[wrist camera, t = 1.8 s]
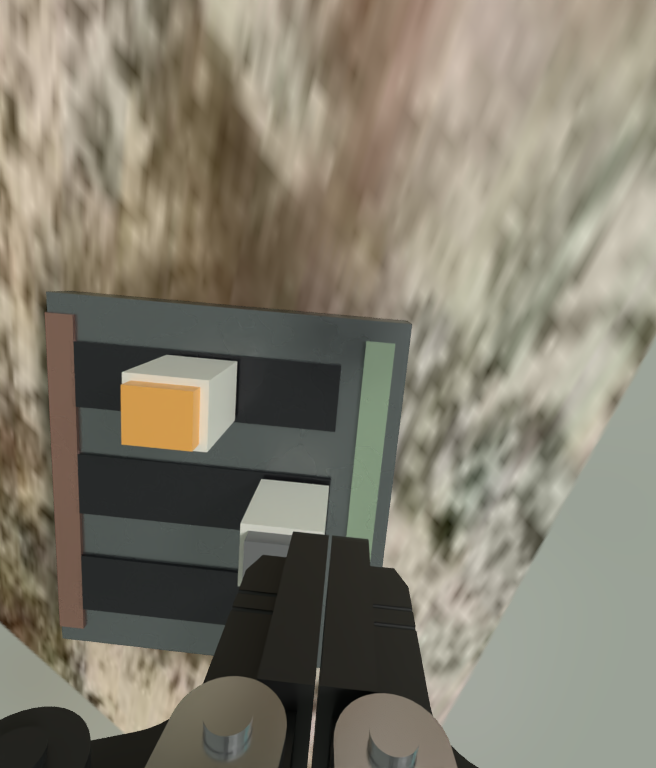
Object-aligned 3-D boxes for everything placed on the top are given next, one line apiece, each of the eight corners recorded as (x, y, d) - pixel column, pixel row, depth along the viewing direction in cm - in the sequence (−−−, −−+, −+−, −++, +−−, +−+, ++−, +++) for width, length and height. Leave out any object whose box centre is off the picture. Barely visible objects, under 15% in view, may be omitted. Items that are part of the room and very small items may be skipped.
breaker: (261, 478, 24) (235, 533, 19) (329, 485, 24) (322, 542, 19) (258, 531, 24) (233, 598, 19) (324, 538, 24) (316, 607, 19)
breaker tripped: (166, 354, 23) (111, 376, 18) (237, 361, 23) (202, 384, 17) (166, 413, 23) (112, 450, 18) (234, 420, 23) (200, 459, 18)
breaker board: (70, 291, 25) (43, 291, 23) (407, 320, 24) (412, 324, 22) (82, 614, 29) (60, 640, 27) (368, 646, 29) (369, 676, 26)
